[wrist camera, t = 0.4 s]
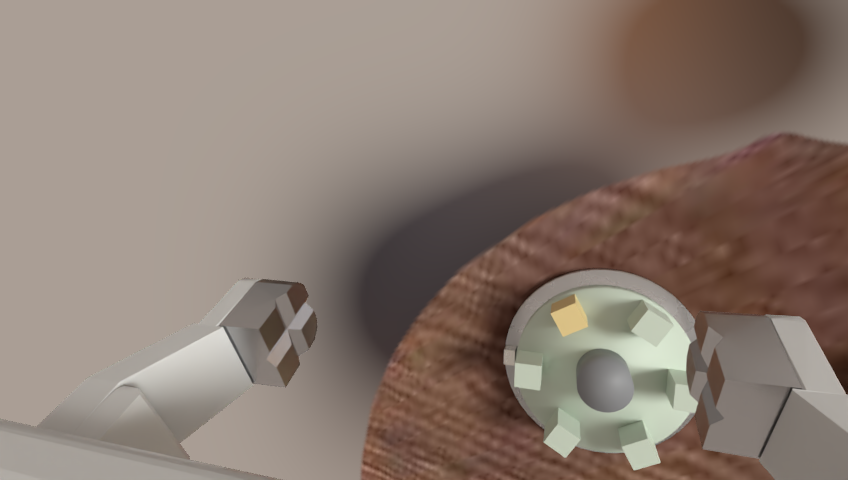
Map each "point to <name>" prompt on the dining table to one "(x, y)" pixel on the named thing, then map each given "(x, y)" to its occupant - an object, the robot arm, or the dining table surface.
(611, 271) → the mount plate
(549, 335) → the green toy gear
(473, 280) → the dining table surface
